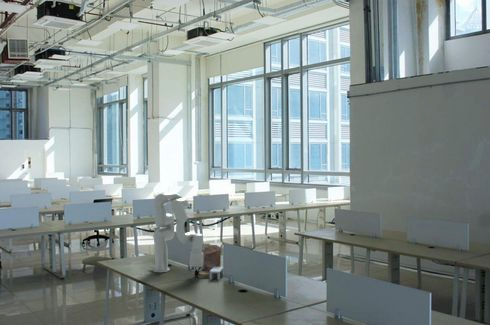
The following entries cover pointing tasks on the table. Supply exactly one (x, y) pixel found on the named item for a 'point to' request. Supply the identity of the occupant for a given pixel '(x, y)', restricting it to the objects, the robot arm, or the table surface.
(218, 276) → the bridge
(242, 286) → the table surface
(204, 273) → the panel
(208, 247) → the stone
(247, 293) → the table surface
